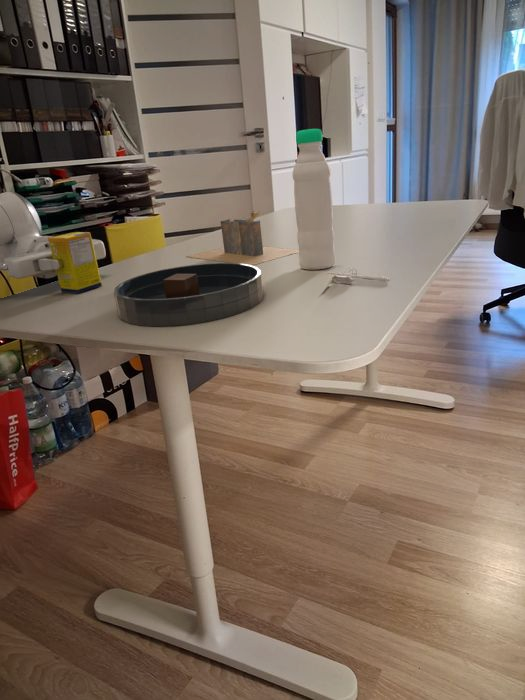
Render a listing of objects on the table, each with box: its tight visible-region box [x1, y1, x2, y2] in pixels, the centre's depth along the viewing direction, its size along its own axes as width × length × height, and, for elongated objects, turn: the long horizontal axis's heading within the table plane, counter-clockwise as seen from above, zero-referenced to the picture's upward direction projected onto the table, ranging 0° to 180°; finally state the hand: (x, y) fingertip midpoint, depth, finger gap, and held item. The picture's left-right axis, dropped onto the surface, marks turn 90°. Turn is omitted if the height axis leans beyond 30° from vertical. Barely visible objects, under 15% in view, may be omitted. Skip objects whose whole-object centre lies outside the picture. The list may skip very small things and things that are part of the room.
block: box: [163, 274, 200, 299], centre depth 86 cm, size 4×4×4 cm
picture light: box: [323, 267, 391, 285], centre depth 89 cm, size 14×4×2 cm, turn 46°
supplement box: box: [48, 231, 103, 294], centre depth 103 cm, size 6×6×11 cm
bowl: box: [113, 262, 264, 327], centre depth 84 cm, size 23×23×4 cm
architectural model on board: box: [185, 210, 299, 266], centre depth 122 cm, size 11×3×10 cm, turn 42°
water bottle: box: [292, 128, 336, 271], centre depth 98 cm, size 7×7×25 cm
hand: (77, 260), depth 103 cm, fingers closed on supplement box, 6 cm apart
